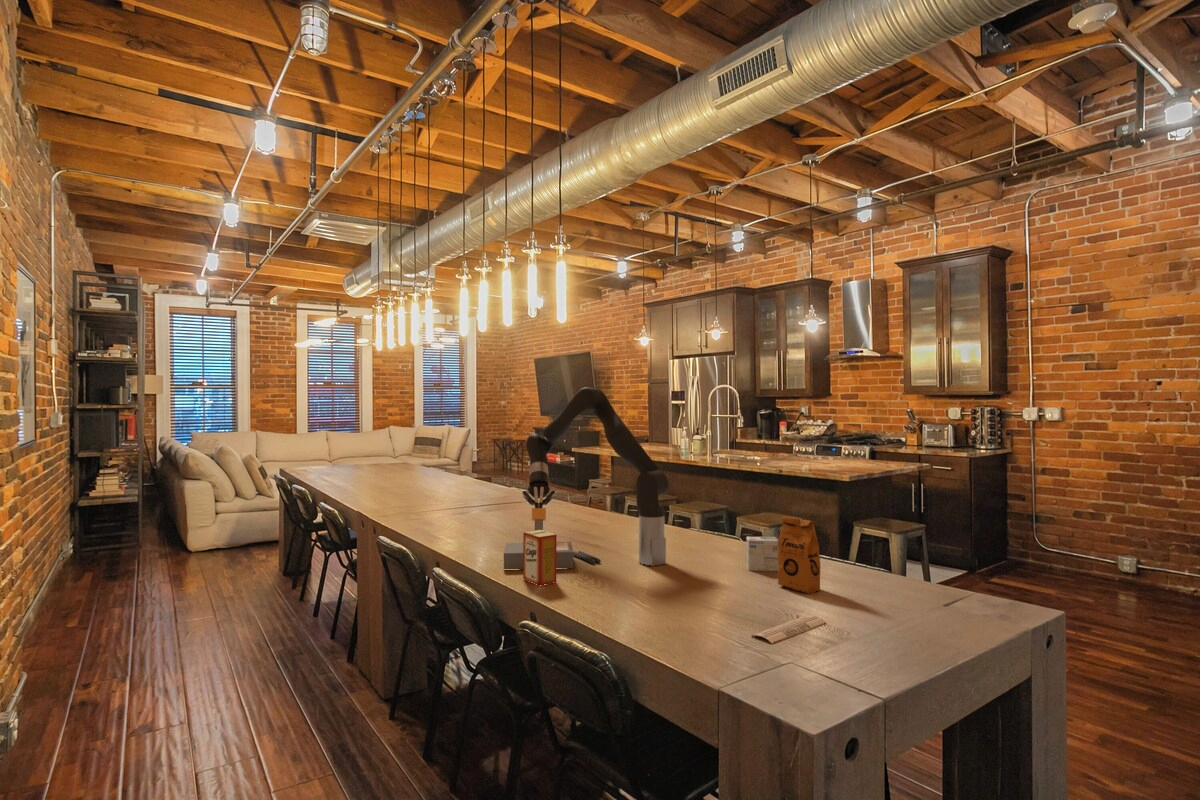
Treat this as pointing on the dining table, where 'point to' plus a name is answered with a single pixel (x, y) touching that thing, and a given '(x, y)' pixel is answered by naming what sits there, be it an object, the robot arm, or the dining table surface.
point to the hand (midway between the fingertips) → (538, 512)
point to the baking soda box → (539, 557)
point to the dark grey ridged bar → (587, 557)
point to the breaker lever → (538, 517)
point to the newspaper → (790, 628)
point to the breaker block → (515, 555)
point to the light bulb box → (762, 553)
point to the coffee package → (798, 556)
